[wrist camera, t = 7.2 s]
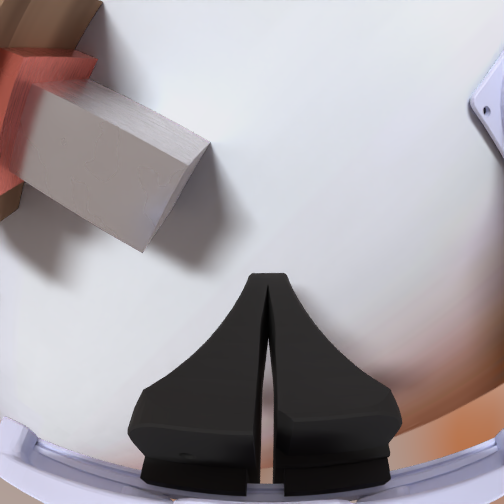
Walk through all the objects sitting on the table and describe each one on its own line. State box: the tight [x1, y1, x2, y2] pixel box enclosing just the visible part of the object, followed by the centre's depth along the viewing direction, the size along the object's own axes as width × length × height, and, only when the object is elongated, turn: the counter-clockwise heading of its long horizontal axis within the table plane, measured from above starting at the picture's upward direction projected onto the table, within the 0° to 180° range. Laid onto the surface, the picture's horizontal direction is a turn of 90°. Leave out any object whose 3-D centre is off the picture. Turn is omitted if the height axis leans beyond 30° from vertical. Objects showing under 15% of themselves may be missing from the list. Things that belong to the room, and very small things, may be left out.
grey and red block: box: [0, 47, 210, 253], centre depth 9 cm, size 16×6×5 cm, turn 58°
